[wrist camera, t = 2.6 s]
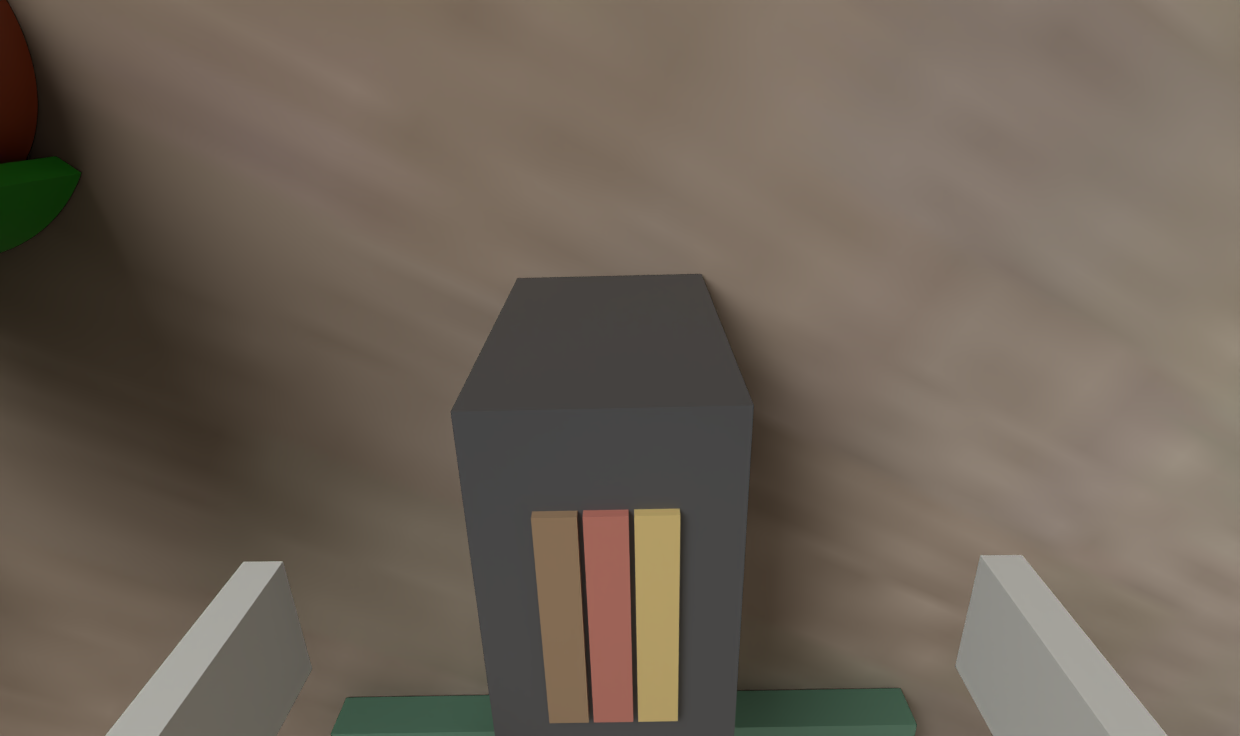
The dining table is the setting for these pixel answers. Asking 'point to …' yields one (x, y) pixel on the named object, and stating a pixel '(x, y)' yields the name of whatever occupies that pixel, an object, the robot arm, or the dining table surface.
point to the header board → (764, 721)
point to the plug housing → (607, 507)
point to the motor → (24, 146)
